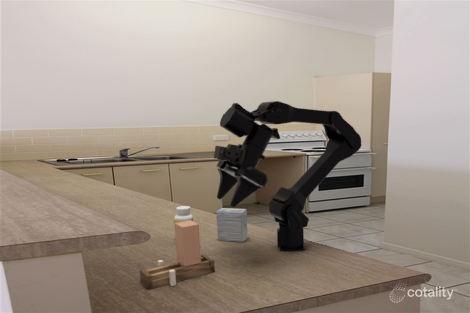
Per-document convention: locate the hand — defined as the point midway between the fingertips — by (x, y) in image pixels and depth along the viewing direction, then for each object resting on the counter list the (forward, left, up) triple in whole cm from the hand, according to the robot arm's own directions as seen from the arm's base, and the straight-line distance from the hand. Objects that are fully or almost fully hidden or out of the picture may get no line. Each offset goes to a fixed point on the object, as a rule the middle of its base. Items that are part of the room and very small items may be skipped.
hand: (224, 202), depth 101 cm
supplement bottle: (+13, -16, -15) cm, 25 cm away
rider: (+8, +9, -13) cm, 17 cm away
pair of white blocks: (+13, +12, -15) cm, 23 cm away
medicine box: (-1, -16, -15) cm, 22 cm away
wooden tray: (+11, +10, -15) cm, 21 cm away
